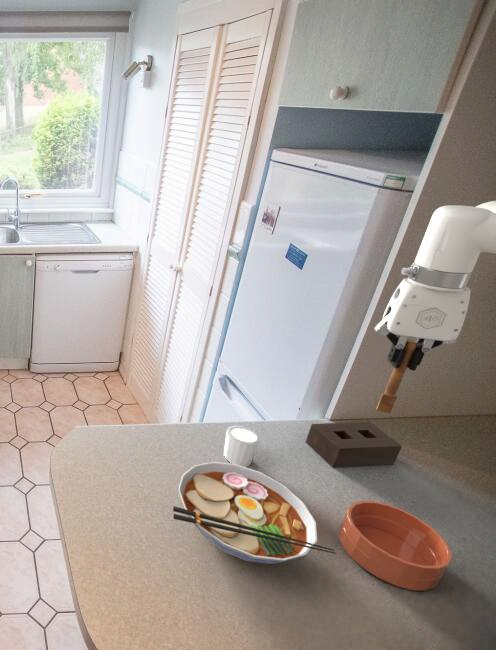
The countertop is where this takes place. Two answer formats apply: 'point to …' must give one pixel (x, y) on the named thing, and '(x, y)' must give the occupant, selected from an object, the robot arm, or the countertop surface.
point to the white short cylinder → (240, 445)
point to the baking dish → (394, 545)
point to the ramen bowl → (246, 513)
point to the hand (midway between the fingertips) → (401, 365)
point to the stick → (396, 379)
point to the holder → (352, 444)
